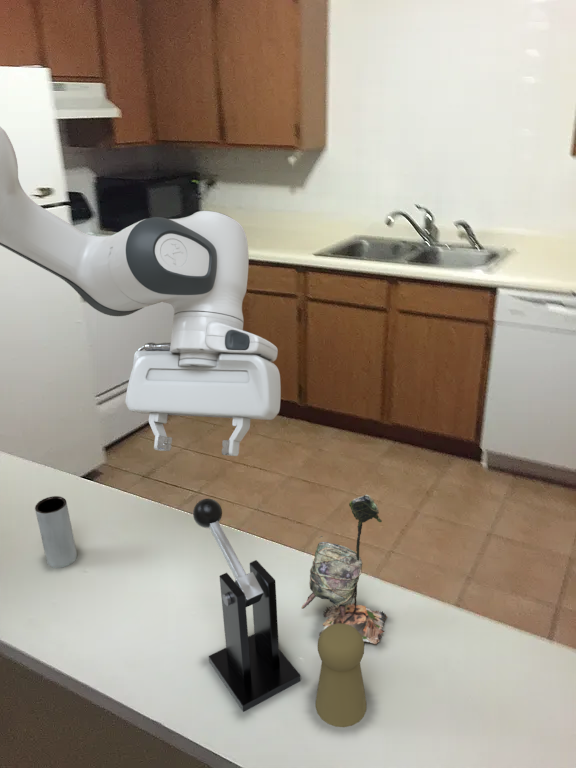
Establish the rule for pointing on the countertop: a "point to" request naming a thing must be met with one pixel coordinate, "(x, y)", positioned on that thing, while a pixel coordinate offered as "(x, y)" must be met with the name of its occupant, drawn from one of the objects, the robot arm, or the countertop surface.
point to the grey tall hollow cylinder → (56, 531)
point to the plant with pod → (345, 579)
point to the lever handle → (227, 548)
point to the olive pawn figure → (341, 676)
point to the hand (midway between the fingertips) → (195, 453)
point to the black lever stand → (252, 644)
